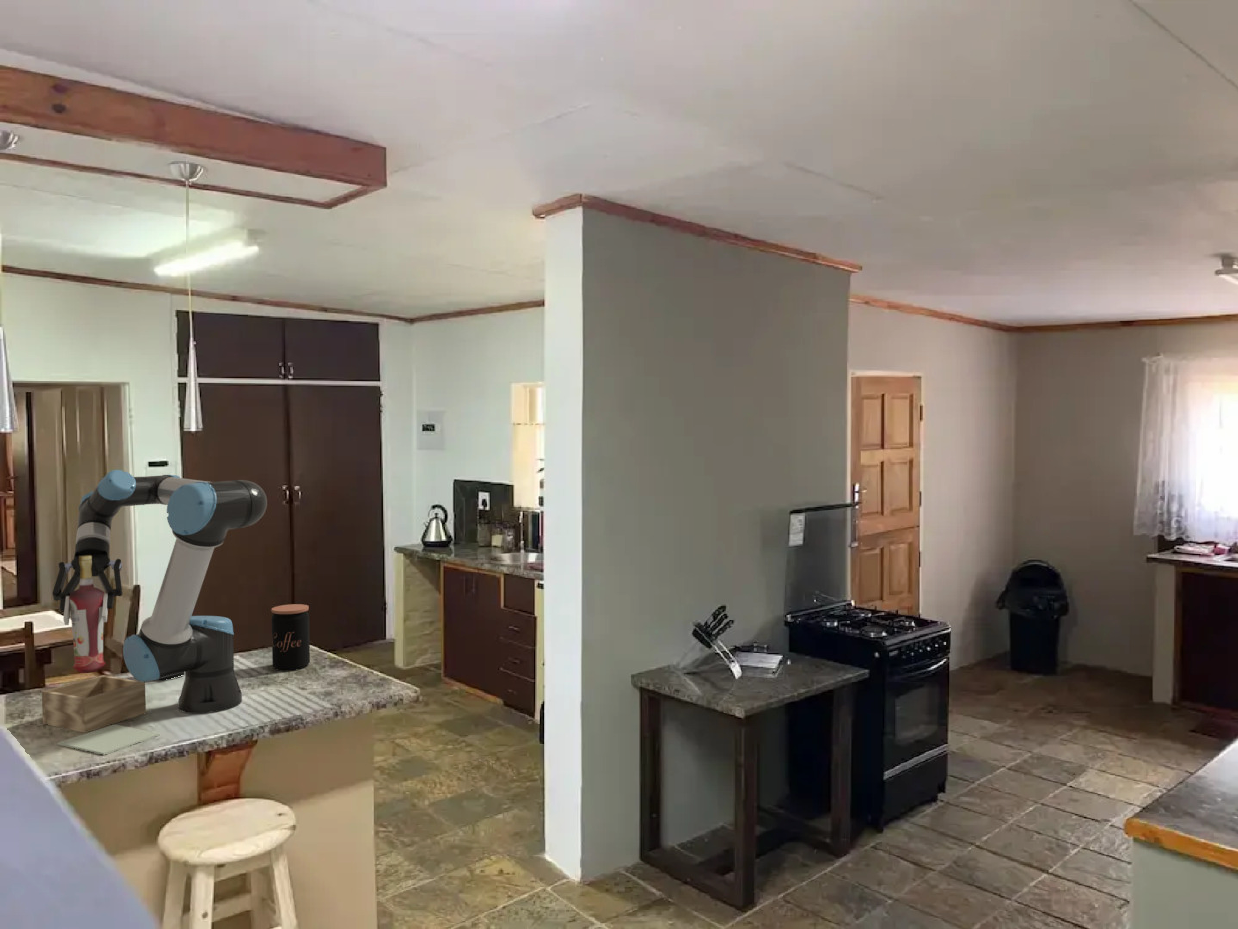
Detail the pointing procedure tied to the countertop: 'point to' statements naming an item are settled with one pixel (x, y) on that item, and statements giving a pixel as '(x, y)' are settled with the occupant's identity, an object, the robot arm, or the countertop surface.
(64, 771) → the countertop surface
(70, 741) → the mat
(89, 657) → the liquor
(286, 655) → the coffee jar
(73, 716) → the crate
